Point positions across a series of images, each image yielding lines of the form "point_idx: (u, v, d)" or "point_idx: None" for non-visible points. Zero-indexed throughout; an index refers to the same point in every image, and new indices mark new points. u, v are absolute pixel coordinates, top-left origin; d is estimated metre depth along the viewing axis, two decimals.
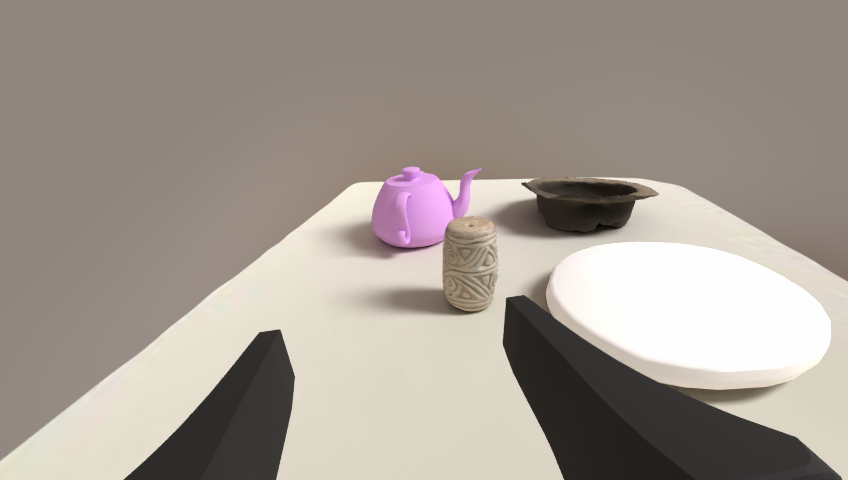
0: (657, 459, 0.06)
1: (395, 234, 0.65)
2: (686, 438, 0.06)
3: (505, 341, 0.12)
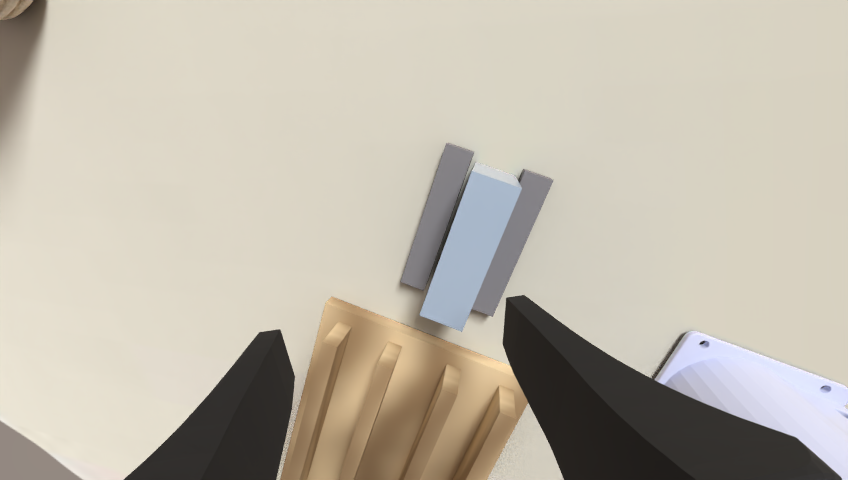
0: (657, 459, 0.06)
1: None
2: (686, 438, 0.06)
3: (505, 341, 0.12)
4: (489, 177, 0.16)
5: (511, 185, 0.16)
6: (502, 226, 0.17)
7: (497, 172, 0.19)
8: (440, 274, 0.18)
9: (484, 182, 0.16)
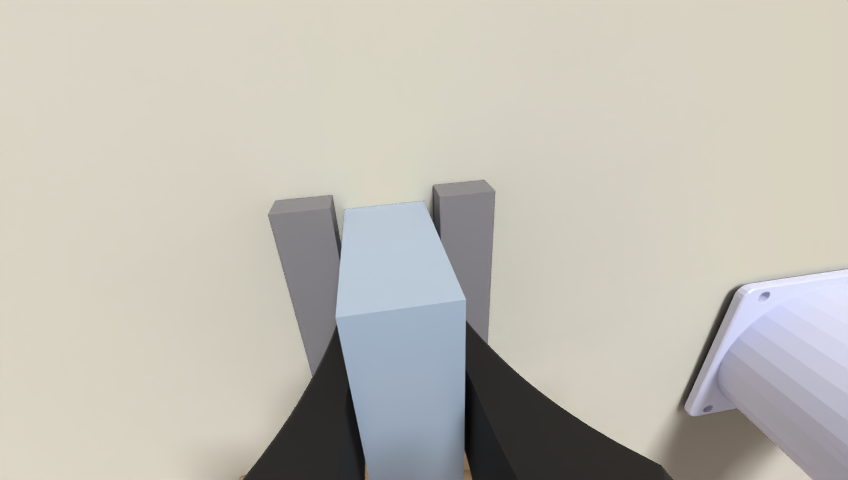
0: None
1: None
2: (551, 465, 0.06)
3: None
4: (383, 309, 0.07)
5: (440, 304, 0.07)
6: (458, 375, 0.08)
7: (392, 231, 0.09)
8: None
9: (379, 324, 0.07)
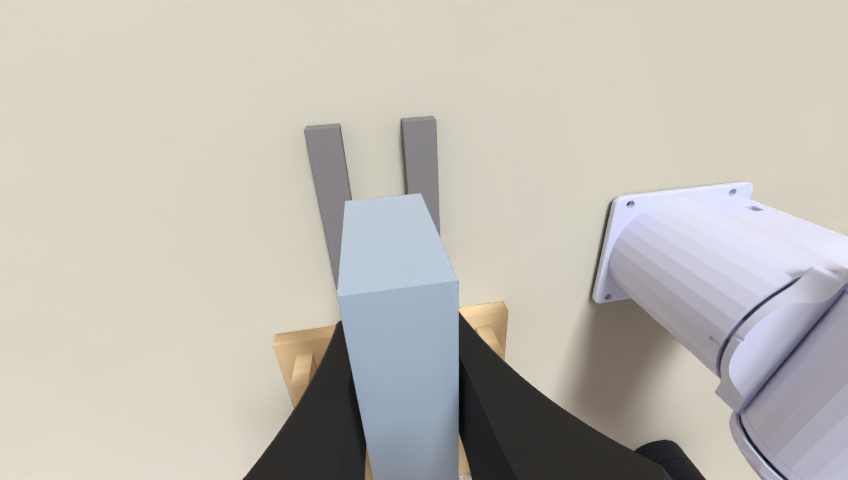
0: None
1: None
2: (551, 465, 0.06)
3: None
4: (381, 289, 0.07)
5: (434, 284, 0.07)
6: (452, 353, 0.08)
7: (390, 221, 0.10)
8: (380, 458, 0.10)
9: (377, 303, 0.07)
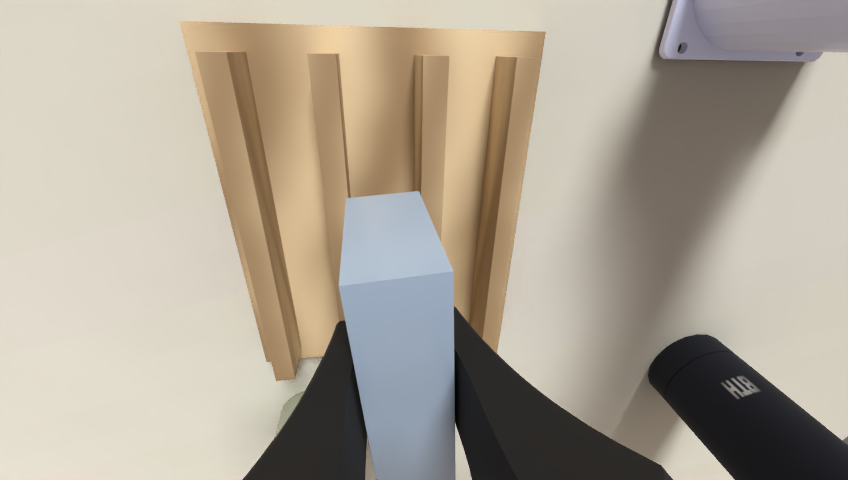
0: None
1: None
2: (551, 465, 0.06)
3: None
4: (380, 280, 0.08)
5: (430, 275, 0.08)
6: (447, 342, 0.09)
7: (389, 217, 0.10)
8: (380, 444, 0.10)
9: (376, 293, 0.08)
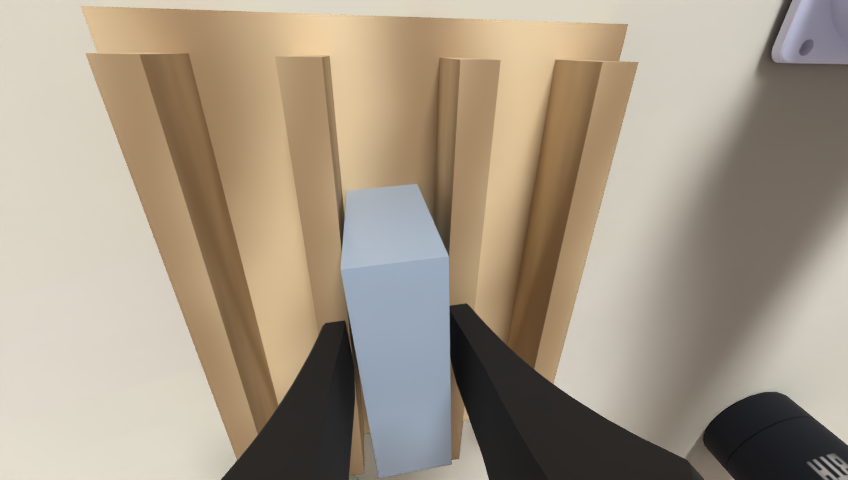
0: None
1: None
2: (577, 460, 0.06)
3: (450, 350, 0.12)
4: (380, 264, 0.08)
5: (427, 260, 0.08)
6: (443, 324, 0.09)
7: (388, 207, 0.11)
8: (378, 424, 0.10)
9: (376, 276, 0.08)
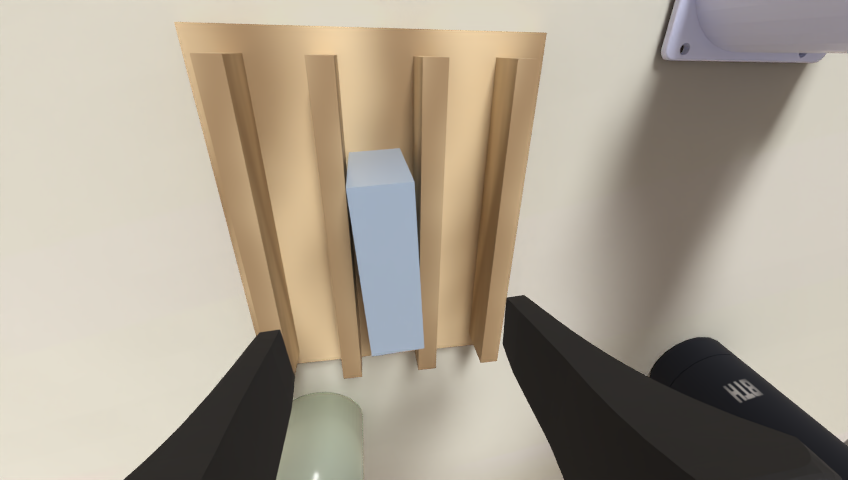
0: (657, 459, 0.06)
1: None
2: (686, 438, 0.06)
3: (505, 341, 0.12)
4: (370, 186, 0.13)
5: (400, 183, 0.13)
6: (413, 231, 0.14)
7: (378, 160, 0.15)
8: (371, 309, 0.15)
9: (368, 194, 0.13)
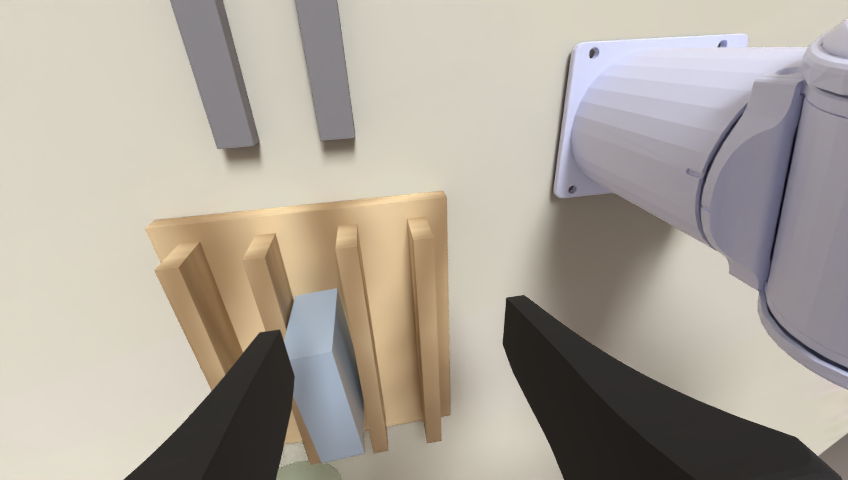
0: (657, 459, 0.06)
1: None
2: (686, 438, 0.06)
3: (505, 341, 0.12)
4: (298, 357, 0.16)
5: (321, 353, 0.16)
6: (337, 381, 0.17)
7: (314, 312, 0.19)
8: (314, 433, 0.19)
9: (297, 363, 0.16)
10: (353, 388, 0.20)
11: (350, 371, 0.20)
